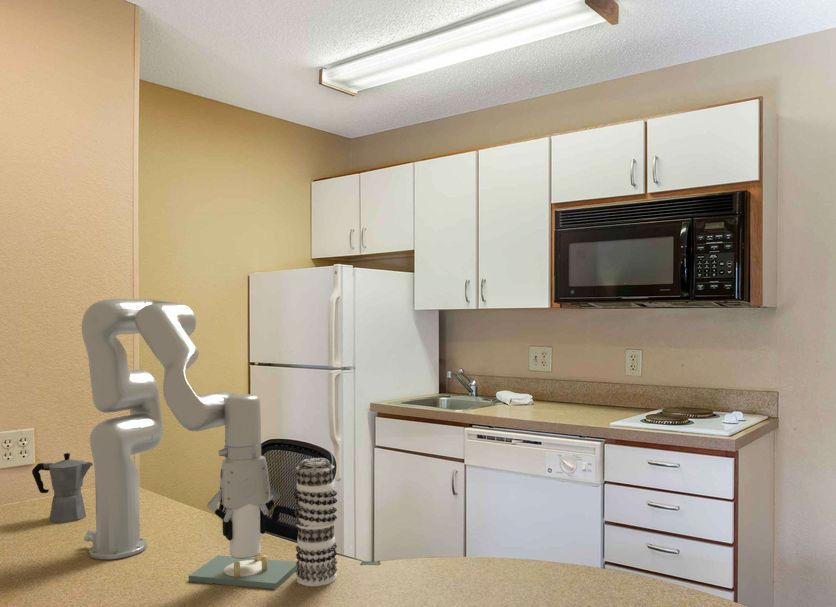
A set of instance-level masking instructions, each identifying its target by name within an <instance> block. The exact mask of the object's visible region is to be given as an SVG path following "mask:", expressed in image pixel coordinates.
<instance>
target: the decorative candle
mask: <svg viewBox="0 0 836 607" xmlns="http://www.w3.org/2000/svg"><path fill="white" fill-rule="evenodd" d="M334 468H335V465H333V464H332V463H331V462H330V461H329V459H327V458H324V457H311V458H309V457H308V458H306V459H303V460H302V461H301V462H300V464H299V465H298V466H297V467H295V470H296V471H297V473H296V474H297V478H296V479H297V481H296V486H295V487H294V488H293V490H294V492H293V499H295V500H294V504H293V505H294V507H295V509H294V515H295V516H296V519H295V520H294V521H295V525H296V527H297V531H298V533H297V545H296V546H295V551H296V552H297V553H296V554H295V557H296V559H297V561H296V567H297V570H296V571H295V573H296V581H297V583H298V584H300V585H302V586H306V587H320V586H321V587H322V586H326V585H329V584H332V583H333V582H335V581H336V580H337V578H338V577H337V576H338V575H337V572H338V568H337V564H338V561H337V558H336V556H337V554H338V553H337V550H336V549H337V547H338V546H337V543H336V536H335V526H334V525H335V524H336V523H337V519H338V516H337V515H336V514H335V513H336V512H337V510H338V509H337V508H336V507H334V504H336V503H337V502H338V499H337V498H335V497H336V496H337V495H338V491H336V490H335V480H334Z"/></svg>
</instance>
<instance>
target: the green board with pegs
mask: <svg viewBox="0 0 836 607" xmlns="http://www.w3.org/2000/svg"><path fill="white" fill-rule="evenodd" d="M296 562H297V561H293V560H280V559H268V555H266V554H265V555H261V551H260V552H259V554H258V555H257V556H254V557H251V558H246V559H237V558H233V557H232V556H231V555H216V556H215V557H214V558H212V559H210V560H209V561H208V562H206V563H205V564H203V565H202V566H200V567H199V568H198V569H196V570H194V571H193V572H192V573H190V574H189V575H188V582H191V581H194V582H193V583H202V582H204V583H203V584H213V583H215V584H214V585H224V586H225V585H226V586H237V587H245V588H246V587H248V588H257V587H260V589H268V588H269V590H277V589H278V588H279V587H280V586H281V585H283V583H284V582H286V581H287V580H288V579H289V578H290V577H291V576H292V575H293V574H294V573H296V570H297V567H296ZM270 588H271V589H270Z"/></svg>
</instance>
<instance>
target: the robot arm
mask: <svg viewBox="0 0 836 607" xmlns="http://www.w3.org/2000/svg"><path fill="white" fill-rule="evenodd" d="M196 327H197V318H196V315H195V313H194V311H193V310H192V309H191V308H190V307H189V306H188V305H187V304H185V303H182V302H172V301H165V300H158V299H157V300H156V299H150V298H148V299H147V298H110V299H109V298H108V299H102V300H99V301H97V302H94V303H92V304H91V305H89V306H88V308H86V310H85V312H84V314H83V316H82V320H81V336H82V340H83V342H84V346H85V350H86V352H87V358H88V368H89V376H90V377H89V378H90V386H91V387H90V388H91V394H92V400H93V401H92V402H93V405H94V407H95V409H96V410H97V411H98V412H102V413H107V414H108V413H116V412H117V413H118V412H123V411H129V414H128V415H123V416H117V417H112V418H108V419H105V420H102V421H101V422H99V423H98V424H96V425H95V426H94V428H92V430H91V432H90V434H89V435H90V436H89V447H90V451H91V455H92V459H93V467H94V478H95V481H94V482H95V483H94V484H95V485H94V486H95V525H96V527H95V530H93V529H89V530H88V531H86V535H84V538H83V541H84V542H92V545H91V547H89V549H88V550H89V556H90V557H92V558H93V559H95V560H116V559H123V558H127V557H128V558H129V557H131V556H134V555H137V554H139V553H142V552H144V550H146V548H147V547H148V542H147V539H145V538H142V537H141V534H140V533H141V531H140V530H141V529H140V527H141V526H140V525H141V524H140V523H141V522H140V521H141V520H140V478H139V471H138V468H137V466H136V464H135V463H134V461H133V460H132V457H131V456H133V455H136V454H140V453H144V452H148V451H150V450H153V449H154V448H157V447H158V446H159V445H160V443H161V442H162V440H163V439H162V438H163V434H164V424H163V423H164V422H163V415H162V406H161V405H162V404H161V395H160V389H159V384H158V382H157V380H156V378H155V377H154V376H153V374H152V373H150V372H149V371H148V370H145V369H129V362H128V354H127V351H126V349H125V347H124V345H123V344H122V342H121V341H120V340H119V338H118V337H117V336H119V335H134V334H135V335H136V334H138V335H139V334H140V336H141V337H142V339H143V340H144V341H145V343H146V345H147V347H148V348H149V349H150V350H151V352H152V354H153V355H154V356H155V358H156V359H157V361H158V363H159V364H160V366H161V367H162V370H163V372H164V373H163V377H162V390H163V391H162V392H163V397H164V400H165V403H166V405H167V407H168V408H169V410H170V411H171V413H172V414H173V416H174V417H175V419H176V421H178V423H179V424H180V425H181V426H182V427H183V428H184V429H186V430H187V431H191V432H194V433H195V432H203V431H206V430H210V429H214V428H219V427H223V426H224V444H225V445H224V444H223V445H224V447H223V448H222V449H219V450H218V456H219V457H224V459H222V462H221V466H220V467H221V468H220V476H219V485H218V489H219V490H218V491H217V493H216V494H214V496H213V497H212V498H211V499H210V500H209V502H207V504H206V507H207V508H208V509H209V510H210V511H211V512H213V513H214V514H215V515H216V516H217V517H218V518H219V519H221V520H222V535H223V536H224V537H225V539H226V540H228V541H230V540H232V521H230V517H231V514H232V512H233V509H239V508H241V507H244V506H246V505H248V504H251V505H260V535H265V533H266V529H267V527H268V525H267V523H268V522H267V521H268V519H267V515H268V514H269V511H270V510H271V509H272V508H273V506H275V503H276V502H277V501H278V499H279V498H280V497H281V493H280V492H279V491H277V490H276V489H275V488H273V486H271V485H270V477H269V476H270V475H269V470H268V463H267V459H266V456H263V455H262V432H261V430H262V427H261V426H262V423H261V421H262V420H261V400H260V397H259V396H258V395H256V394H251V393H250V394H249V393H243V394H239V393H238V394H237V393H233V392H230V391H218V392H217V391H216V392H212V393H211V392H210V393H205V394H200V395H197V394H196V392H195V391H194V390H193V388H192V386H191V385H190V383H189V382H188V380H187V377H186V376H187V375H186V371H187V370H188V369H190V367H192V366H193V365H194V364H195V362H196V361H197V359H198V358H199V354H200V352H199V349H198V347H197V346H196V345H195V343H194V342H193V339H192V338H191V337H190V336H191V335H192V334H193V333H194V331H195V330H196ZM218 504H220V505H223V509H222V510H221V509H220V508H219V507H217V505H218Z"/></svg>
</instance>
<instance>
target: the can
mask: <svg viewBox="0 0 836 607" xmlns="http://www.w3.org/2000/svg"><path fill="white" fill-rule="evenodd" d="M230 521H232V540H229V556H232V557H233V558H237V559H246V558H255V556H257V555H258V554H259V552H260V553H261V545H262V544H261V539H262V538H261V533H260V505H251V504H248V505H246V506H244V507H241V508H239V509H233V512H232V514H231V517H230Z"/></svg>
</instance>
